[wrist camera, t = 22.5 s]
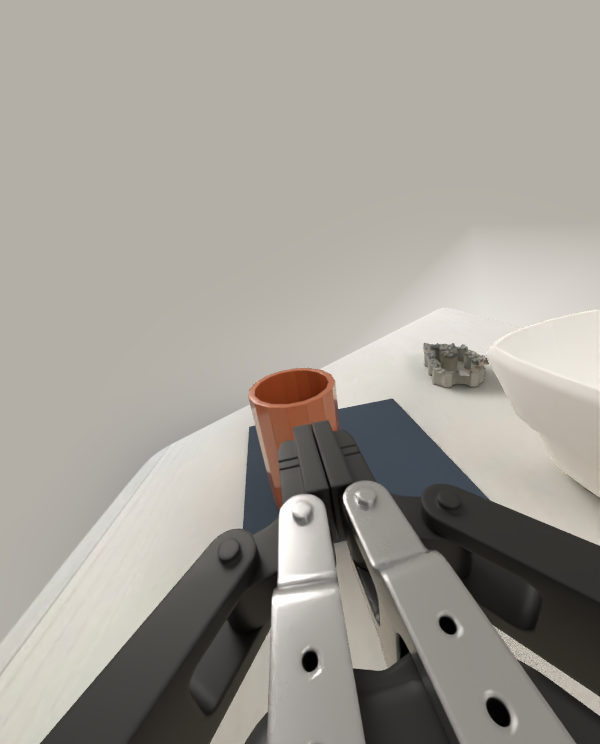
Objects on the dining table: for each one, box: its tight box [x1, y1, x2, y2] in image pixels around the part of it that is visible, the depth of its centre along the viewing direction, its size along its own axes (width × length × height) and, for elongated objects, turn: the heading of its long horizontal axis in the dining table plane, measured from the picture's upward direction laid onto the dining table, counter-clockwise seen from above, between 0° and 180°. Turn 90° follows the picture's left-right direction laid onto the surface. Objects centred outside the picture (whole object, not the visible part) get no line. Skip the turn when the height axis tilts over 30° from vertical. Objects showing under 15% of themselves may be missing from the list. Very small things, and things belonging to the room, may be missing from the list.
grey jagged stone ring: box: [424, 343, 489, 387], centre depth 44 cm, size 11×8×4 cm
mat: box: [243, 399, 489, 543], centre depth 30 cm, size 20×18×1 cm
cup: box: [249, 368, 340, 512], centre depth 24 cm, size 7×7×11 cm
